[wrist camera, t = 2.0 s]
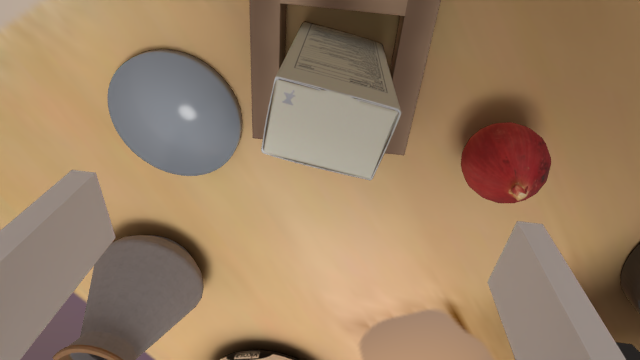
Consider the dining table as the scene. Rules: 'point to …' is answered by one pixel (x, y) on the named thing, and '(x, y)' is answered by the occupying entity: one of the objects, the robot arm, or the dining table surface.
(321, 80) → the skincare box
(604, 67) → the dining table surface
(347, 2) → the pocket holder
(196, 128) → the coaster
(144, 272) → the coffee pot
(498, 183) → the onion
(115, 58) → the dining table surface
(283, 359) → the milk container
